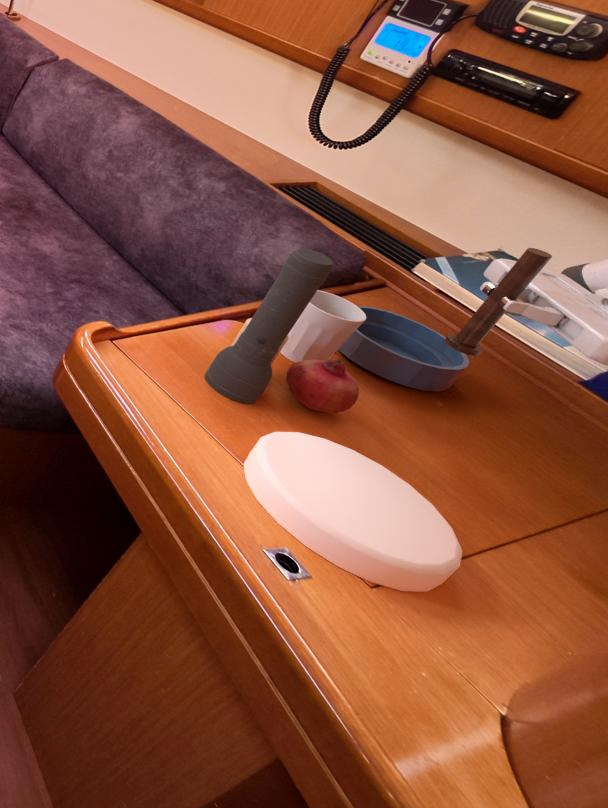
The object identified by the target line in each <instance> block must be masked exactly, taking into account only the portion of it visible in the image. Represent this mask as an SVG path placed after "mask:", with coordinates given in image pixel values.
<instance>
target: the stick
mask: <svg viewBox="0 0 608 808" xmlns="http://www.w3.org/2000/svg"><path fill="white" fill-rule="evenodd" d="M552 258H553V255H552V254H550V253H549V252H547V251H545V250H543V249H539V248H536V247H535V248H534V247H527V248H526V250H525V251H524V252H523V253H522V254H521V256H520V257H519V258H518V259H517V260H516V261H517V262H516V263H515V264H514V266H513V267H512V268H511V269H510V271H509V272H508V273H507V274H506V275H505V277H504V278H503V279H502V280H501V282H500V283H499V284H498V285H497V286H496V288H495V289H494V290H493V291H492V293H491V294H490V295H489V296H487V298H486V299H484V301H483V302H482V304H481V305H480V306H479V307H478V308H477V310H476V311H475V312H474V313H473V314H472V316H471V317H470V318H469V319H468V321H467V322H466V323H465V325H464V326H463V327H462V328H461V329H460V331H459V332H458V333H457V334H456V333H449V334H448V335H446V336H445V337H446V338H445V339H444V341H445V343H446V344H447V345H448V346H450V347H451V348H453V349H455V350H457V351H459V352H462V353H464V354H466V355H468V356H472V357H477V356H480V354H481V353H482V352H483V351H484V348H483V346H482V345H480V343H481V342H482V341H483V340H484V339H485V338H486V336H487V335H488V334H489V332H491V330H492V329H493V328H494V327H495V326H496V324H498V322H499V321H500V319H502V317H503V316H504V315H505V313H506V312H507V311H505V310H504V309H503V308H502V307H501V306H500V305H498V303H499V302H500V301H501V299H502V298H503V297H511V298H518V297H519V296H520V295H521V293H522V292H523V291H524V290H525V289H526V287H527V286H528V285H529V284H530V283H531V281H532V280H533V279H534V278H535V277H536V276H537V274H538V273H539V272H540V271H541V270H542V268H543V267H544V268H545V266H546V265H547V264H548V263H549V261H550V260H551V259H552Z"/></svg>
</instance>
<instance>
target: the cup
mask: <svg viewBox="0 0 608 808" xmlns="http://www.w3.org/2000/svg"><path fill="white" fill-rule="evenodd" d="M357 306H358V305H356V304H355V303H353V302H351V301H349V300H348V299H345V298H344V297H341V296H339V295H336V294H334V293H330V292H328V291H323V290H319V289H318V290H317V291H316V293H315V295H314V296H313V298H312V299H311V301H310V302H309V304H308V305H307V307H306V308H305V310H304V311H303V313H302V314H301V316H300V317H299V319H298V320H297V322H296V323H295V325H294V326H293V328H292V329H291V331H290V332H289V334H288V337H289V339H288V341H287V342H286V344H285V345H284V347H283V348H282V350H281V351H280V353H279V354H281V355H282V356H283V357H284V358H286V359H287V360H289V361H291V362H293V364H294V363H296V362H300V361H305V360H322V361H328V360H331V358H332V357H333V356H334V355H335V353H337V351H339V350H338V349H339V348H340V347H341V346H342V344H343V343H344V342H345V341H346V340H347V339H348V338H349V337H350V336H351V335H352V334H353V332H354V331H355V330H356V329H357V328H358V327H359V326H360V325H361V324H362V323H363V322H364V321H365V320H366V315H365V313H364V312H363V311H362V310H361V309H360V308H359V307H357Z"/></svg>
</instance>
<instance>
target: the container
mask: <svg viewBox="0 0 608 808" xmlns="http://www.w3.org/2000/svg"><path fill="white" fill-rule="evenodd" d="M242 465H243V472H244V478H245V482H246V484H247V485H248V487H249V488H250V490H251V492H252V494H253V495H254V497H255V500H256V501H257V502H258V503H259V504H260V505H261V507H263V509H264V510H265V511H266V512H267V513H268V514H269V515H270V516H271V517H272V519H273V520H274V521H275V522H276V523H277V524H278V525H279V526H280V527H282V528H283V529H284V530H285V531H286V532H287V533H289V534H290V535H291V536H293V537H294V538H295V539H296V540H298V541H299V543H301V544H302V545H303V546H305V547H306V548H308V549H309V550H311V551H312V552H314V553H315V554H317V555H319V556H320V557H321V558H323V559H325V560H327V561H328V562H330V563H331V564H332V565H334V566H336V567H338V568H340V569H342V570H344V571H347V572H348V573H350V574H352V575H354V576H357V577H359V578H361V579H363V580H366V581H367V582H370V583H373V584H375V585H379V586H383V587H386V588H389V589H393V590H397V591H401V592H412V593H413V592H415V593H427V592H429V591H432V590H434V589H435V588H437V587H438V586H441V585H442V584H443V583H444V582H445V581H447V579H449V577H451V576H452V575H453V574H454V573H455V572H456V571H457V570H458V569H459V568H460V567H461V563H462V556H463V548H462V546H461V545H460V542H459V540H458V537H457V535H456V533H455V530H454V529H453V527H452V525H450V524H449V522H448V521H447V519H445V517H444V516H443V515H442V514H441V513H440V512H439V511H438V509H437V508H436V507H435V506H434V504H432V503H431V501H429V500H428V499H427V498H425V496H423V495H422V494H421V493H420V492H419V491H418V490H416V489H415V488H414V487H413V486H412V485H411V484H410V483H409V482H407V481H405V480H404V479H402V478H401V477H399V476H398V475H397V474H395V473H394V472H393V471H390V469H388V468H386V467H385V466H383V465H382V464H380V463H378V462H376V461H375V460H372V459H371V458H368V457H367V456H365V455H364V454H362V453H360V452H357V451H356V450H354V449H352V448H349V447H348V446H345V445H342V444H339V443H337V442H335V441H332V440H330V439H327V438H325V437H321V436H320V437H319V436H316V435H311V434H308V433H303V432H300V431H273V432H271V433H268V434H266V435H262V436H260V438H259V439H258V440H257V442H256V443H255V445H254V446H253V448H252V449H251V450H250V451H249V453H248V455H247V456H246V458H245V460H244V462H243V464H242Z"/></svg>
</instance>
